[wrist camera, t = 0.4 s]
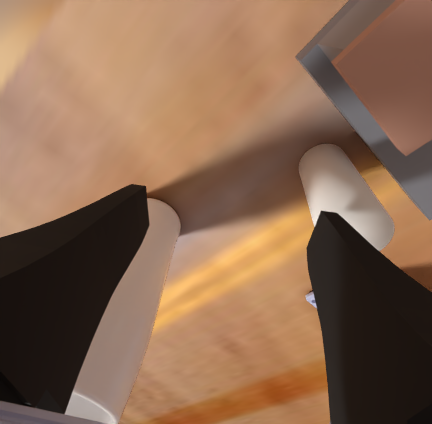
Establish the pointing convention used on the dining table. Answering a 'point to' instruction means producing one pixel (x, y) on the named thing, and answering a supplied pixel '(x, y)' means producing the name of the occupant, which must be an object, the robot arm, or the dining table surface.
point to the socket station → (382, 84)
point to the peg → (343, 193)
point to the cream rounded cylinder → (126, 324)
